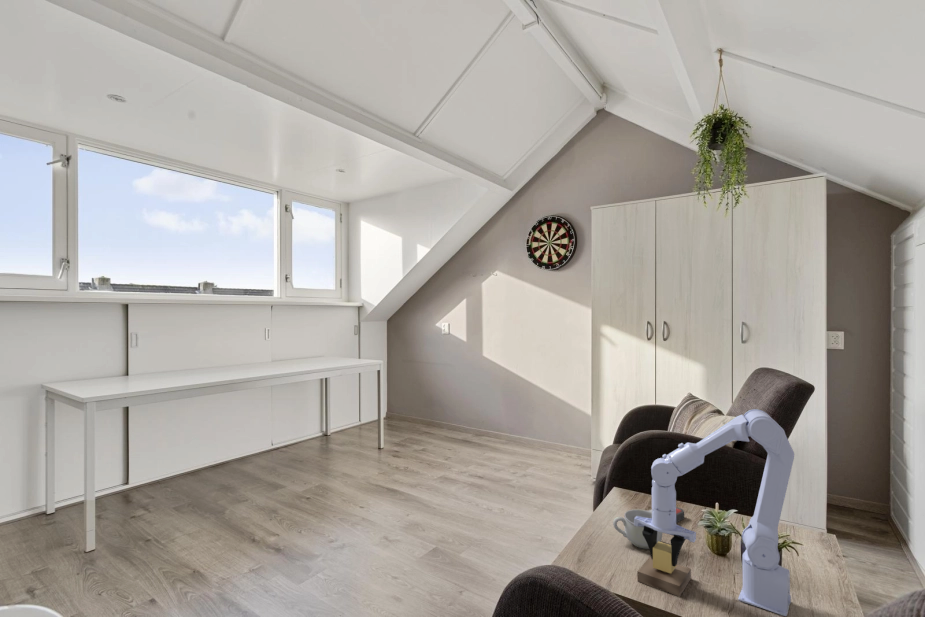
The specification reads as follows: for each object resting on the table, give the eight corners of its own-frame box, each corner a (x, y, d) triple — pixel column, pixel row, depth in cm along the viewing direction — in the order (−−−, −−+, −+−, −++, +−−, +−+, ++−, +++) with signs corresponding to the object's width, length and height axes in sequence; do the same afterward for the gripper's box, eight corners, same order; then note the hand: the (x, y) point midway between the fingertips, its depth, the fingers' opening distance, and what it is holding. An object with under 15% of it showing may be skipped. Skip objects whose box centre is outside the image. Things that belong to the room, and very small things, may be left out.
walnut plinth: (690, 578, 119) (690, 568, 119) (679, 596, 112) (679, 586, 112) (650, 565, 126) (650, 555, 126) (637, 581, 118) (637, 571, 118)
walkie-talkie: (662, 510, 163) (629, 525, 150) (662, 497, 163) (629, 511, 151) (687, 518, 156) (654, 535, 143) (687, 505, 156) (654, 521, 144)
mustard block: (676, 566, 119) (676, 546, 119) (671, 573, 116) (670, 553, 116) (658, 560, 122) (658, 541, 122) (652, 567, 119) (652, 547, 119)
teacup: (660, 538, 141) (660, 511, 141) (666, 555, 131) (665, 527, 131) (612, 532, 145) (612, 506, 145) (613, 549, 135) (613, 521, 135)
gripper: (698, 510, 117) (699, 564, 117) (640, 495, 127) (640, 546, 127) (691, 519, 112) (691, 576, 112) (631, 503, 121) (631, 556, 121)
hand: (664, 561), depth 119 cm, fingers closed on mustard block, 4 cm apart
